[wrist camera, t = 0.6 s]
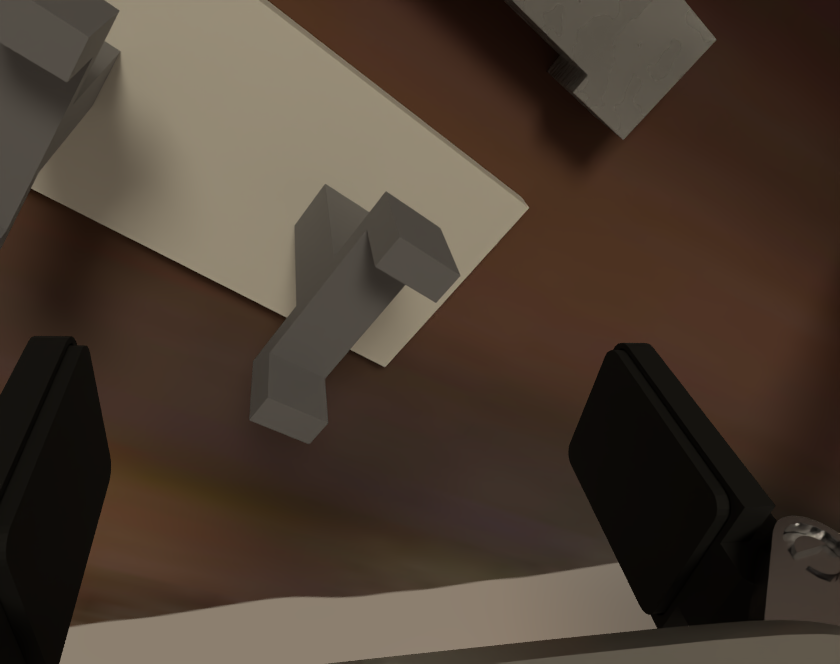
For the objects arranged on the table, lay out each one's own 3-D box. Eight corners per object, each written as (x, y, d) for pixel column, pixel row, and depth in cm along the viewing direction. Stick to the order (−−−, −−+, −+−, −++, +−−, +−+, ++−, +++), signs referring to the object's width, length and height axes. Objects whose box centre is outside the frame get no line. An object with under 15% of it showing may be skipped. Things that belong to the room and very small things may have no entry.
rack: (521, 197, 38) (614, 328, 27) (382, 353, 43) (413, 514, 32) (-97, -282, 22) (-452, -418, 12) (-195, 55, 28) (-500, 174, 17)
